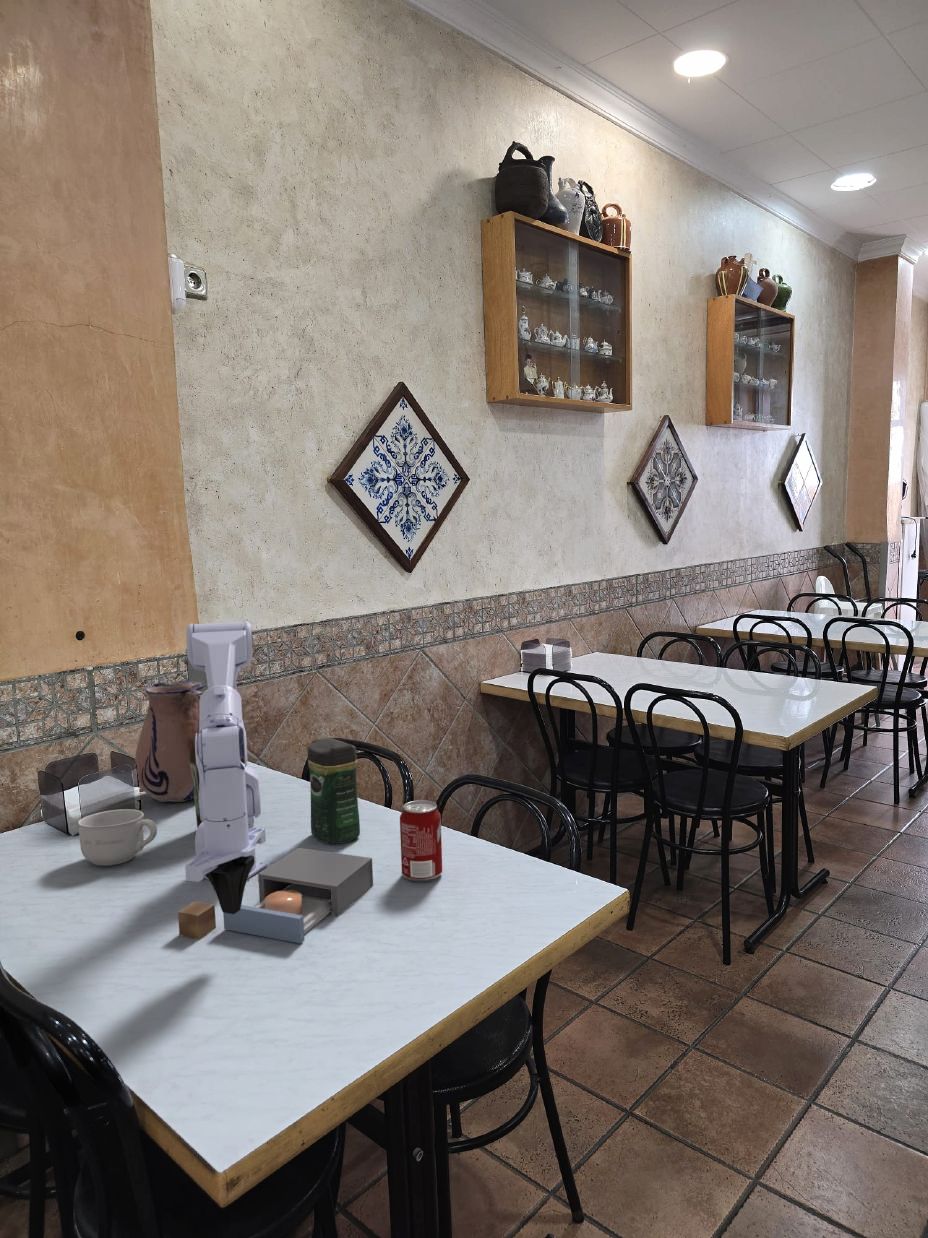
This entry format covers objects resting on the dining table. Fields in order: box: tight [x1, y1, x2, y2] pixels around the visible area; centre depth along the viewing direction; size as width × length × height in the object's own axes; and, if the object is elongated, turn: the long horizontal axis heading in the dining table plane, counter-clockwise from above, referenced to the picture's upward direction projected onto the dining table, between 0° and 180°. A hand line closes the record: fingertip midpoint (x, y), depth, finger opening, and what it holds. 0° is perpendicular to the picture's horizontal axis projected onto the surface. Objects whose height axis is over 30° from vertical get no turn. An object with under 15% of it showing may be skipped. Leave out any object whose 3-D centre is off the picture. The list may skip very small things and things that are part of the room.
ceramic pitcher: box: [134, 680, 207, 803], centre depth 180 cm, size 18×21×25 cm
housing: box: [257, 847, 374, 917], centre depth 131 cm, size 14×11×5 cm
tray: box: [222, 891, 332, 944], centre depth 122 cm, size 13×11×4 cm
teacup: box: [77, 808, 158, 867], centre depth 146 cm, size 14×11×8 cm
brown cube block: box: [177, 901, 217, 940], centre depth 119 cm, size 4×4×4 cm
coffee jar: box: [307, 737, 361, 845], centre depth 155 cm, size 10×8×19 cm
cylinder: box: [264, 889, 302, 915], centre depth 123 cm, size 5×5×2 cm
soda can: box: [399, 799, 443, 883], centre depth 136 cm, size 7×7×12 cm
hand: (231, 911), depth 112 cm, fingers closed
